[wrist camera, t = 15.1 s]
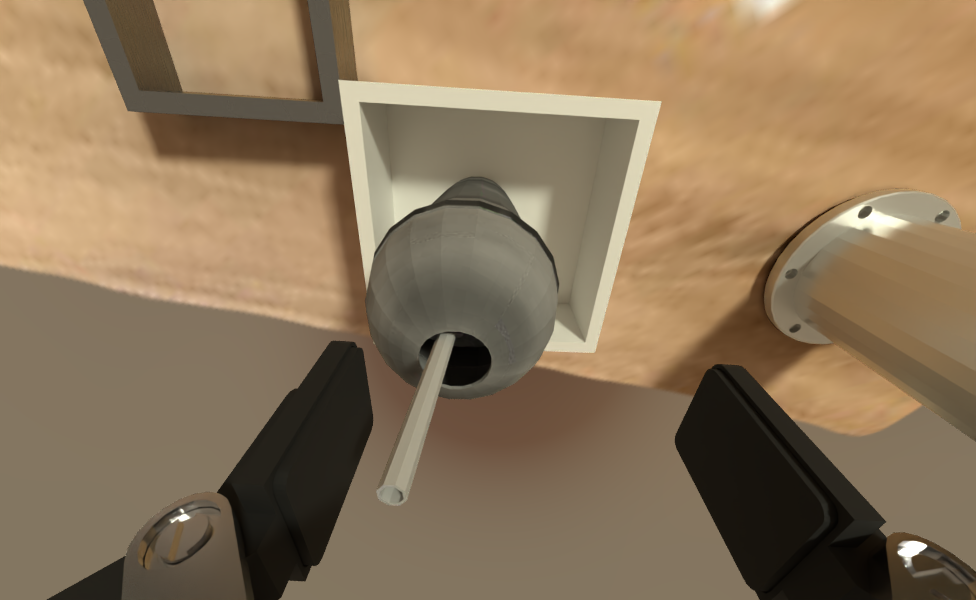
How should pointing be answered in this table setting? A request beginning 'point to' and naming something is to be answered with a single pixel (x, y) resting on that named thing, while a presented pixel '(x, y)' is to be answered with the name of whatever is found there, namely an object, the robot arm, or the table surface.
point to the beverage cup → (457, 308)
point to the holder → (156, 89)
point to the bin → (507, 174)
